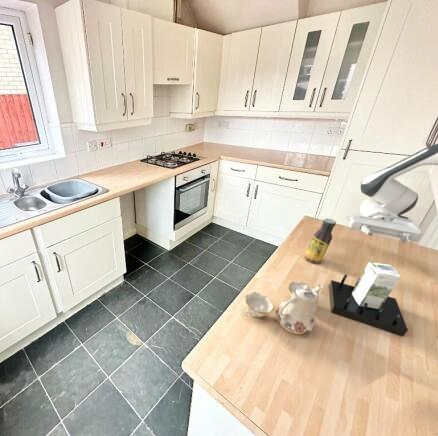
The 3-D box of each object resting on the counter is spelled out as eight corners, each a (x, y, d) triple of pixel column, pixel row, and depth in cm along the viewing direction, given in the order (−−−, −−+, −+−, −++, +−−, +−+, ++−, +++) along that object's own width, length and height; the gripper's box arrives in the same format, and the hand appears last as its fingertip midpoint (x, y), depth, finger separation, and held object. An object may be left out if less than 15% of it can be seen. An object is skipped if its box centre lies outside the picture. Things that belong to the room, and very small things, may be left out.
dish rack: (391, 304, 83) (402, 288, 79) (403, 336, 73) (416, 320, 69) (328, 286, 91) (335, 270, 88) (330, 312, 81) (339, 296, 77)
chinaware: (295, 291, 91) (303, 253, 85) (341, 322, 77) (356, 280, 70) (234, 313, 83) (239, 273, 76) (273, 354, 68) (283, 309, 62)
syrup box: (370, 297, 82) (390, 263, 75) (379, 310, 77) (402, 276, 70) (351, 293, 84) (368, 260, 77) (358, 306, 79) (378, 272, 72)
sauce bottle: (301, 257, 106) (315, 217, 97) (311, 254, 108) (326, 215, 99) (314, 266, 101) (331, 225, 92) (325, 262, 103) (342, 222, 93)
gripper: (349, 208, 99) (353, 222, 88) (417, 219, 90) (431, 237, 79) (343, 221, 102) (347, 237, 91) (409, 233, 93) (421, 252, 82)
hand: (387, 237), depth 85 cm, fingers open, 8 cm apart
